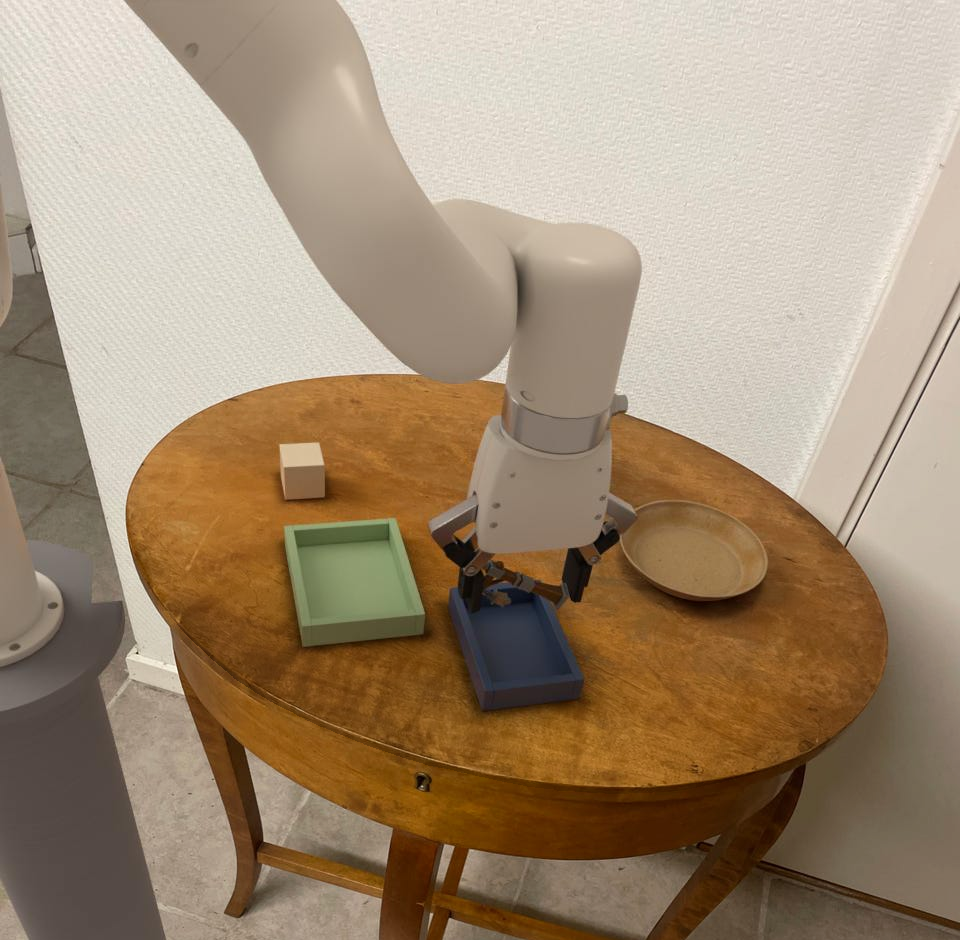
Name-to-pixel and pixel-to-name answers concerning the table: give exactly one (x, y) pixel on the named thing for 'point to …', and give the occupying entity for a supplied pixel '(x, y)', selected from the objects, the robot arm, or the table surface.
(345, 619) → the sage tray
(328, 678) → the table surface
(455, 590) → the slate tray
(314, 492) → the cream block
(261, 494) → the table surface
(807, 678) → the table surface
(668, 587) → the plant saucer
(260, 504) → the table surface
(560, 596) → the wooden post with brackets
